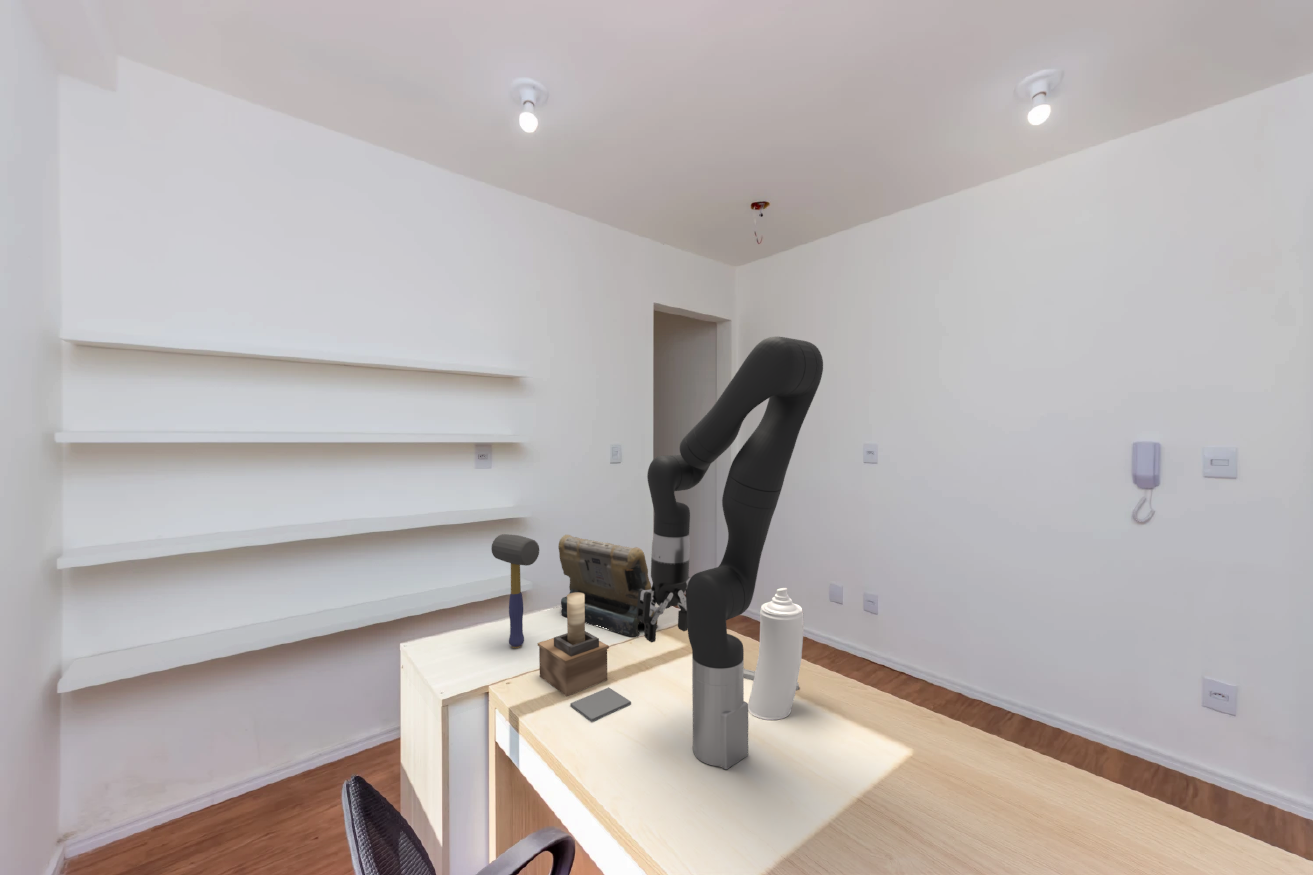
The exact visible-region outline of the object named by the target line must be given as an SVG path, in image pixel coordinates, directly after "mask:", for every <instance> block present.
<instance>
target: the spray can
mask: <svg viewBox="0 0 1313 875" xmlns="http://www.w3.org/2000/svg"><path fill="white" fill-rule="evenodd" d="M760 606H761V607H760V610H759V614H760V615H759V616H760V618H759V619H760V624H759V644H758V645H759V646H758V656H757V662H756V666H755V670H754V671H755V676H754V681H753V680H752V681H753V682H752V686H751V691H750V695H749V698H748V702H747V703H748V713H750V714H751V716H754V717H755V718H758V719H761V720H767V721H777V720H782V719H785V718H786V717H788V716H789V715H790V714H791V712H792V709H793V708H792V707H793V704H794V701H795V700H794V699H795V696H796V691H797V690H796V686H797V682H798V680H799V674H800V668H801V665H802V654H803V642H804V630H805V629H804V628H805V622H804V621H805V620H804V613H803V608H802V607H801V605H799V604H797V603H794V602H793V599H792V598H790V595H789V594H788V588H787V587H781V588H778V589H776V593H775V594H774V596H773V597H771V601H768V602H765V603H762V604H761V605H760Z"/></svg>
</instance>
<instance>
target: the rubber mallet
mask: <svg viewBox="0 0 1313 875" xmlns="http://www.w3.org/2000/svg"><path fill="white" fill-rule="evenodd" d="M491 554H492V556H493V557H494V558H495V559H497V560H499V561H502V562H505V563H508V564H510V594H509V600H508V601H509V602H508V616H509V639H508V643H509V646H510V648H512V649H519V648H522V647H523V644H524V642H525V635H524V632H523V631H524V629H523V627H524V626H523V619H524V618H523V617H524V600H523V592H522V590H521V588H522V586H521V582H522V581H521V566H524V567H525V566H531V565H533V564H534V563H535V562H536V561H537V559H538V558H539V555H540V546H539V543H538V542H537V541H536V540H535V539H533V538H529V537H525V536H522V535H519V534H518V535H517V534H508V533H507V534H505V533H503V534H499V535H497V536H496V537H495V538H494V539H493V541H492V543H491Z"/></svg>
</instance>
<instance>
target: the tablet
mask: <svg viewBox="0 0 1313 875" xmlns="http://www.w3.org/2000/svg"><path fill="white" fill-rule="evenodd" d="M558 553H559V555H558V556H559V562H560V564H561V570H562V571H563V575H564V576H567V577H568V578H569V587H568V588H569V593H568V594H570V593H575V592H580V593H584V595H585V622H587V623H589V624H588V625H590V624H592V626H594V625H598V626H601V627H604V628H607V629H609V630H608V631H610V630H612V631H611V632H613V631H614V633H617V632H619V633H618V634H620V633H621V634H620V635H624V636H627V637H634V638H635V637H636V636H637V637H638V636H640V631H639V624H640V623H641V621H640V620H638V619H637V618H636V614H637V602H638V592H639V590H640V589H643V590H650V589H651V587H652V583H651V581H650V578H649V569H648V565H647V560H646V556H645V552H643V550H642V549H641V548H640V547H637V546H635V547H630V546H623V545H619V544H618V545H617V544H614V543H610V542H604V541H599V540H598V541H597V540H591V539H590V540H589V539H586V538H579V537H577V536H575V537H574V536H572V535H571V534H564V535H563V536H561V538H560V539H559V542H558ZM560 606H561V610H560V612H561V616H564V617H567V595H566V596H564V597H562V598H561V600H560ZM653 614H654V612H653V613H652V615H653ZM652 615H651V617H652ZM658 619H659V618H658ZM658 619H657V621H656V629H657V628H658ZM587 623H586V624H587ZM643 625H644V627H645V623H643Z"/></svg>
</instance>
